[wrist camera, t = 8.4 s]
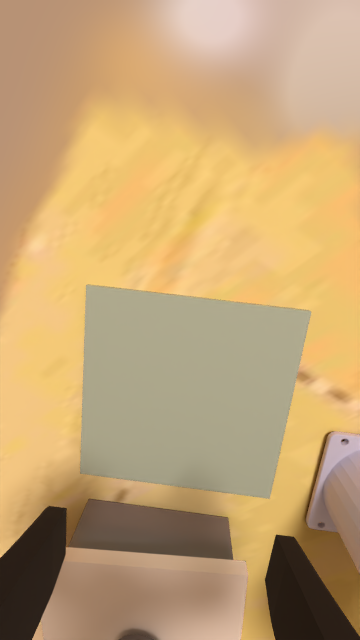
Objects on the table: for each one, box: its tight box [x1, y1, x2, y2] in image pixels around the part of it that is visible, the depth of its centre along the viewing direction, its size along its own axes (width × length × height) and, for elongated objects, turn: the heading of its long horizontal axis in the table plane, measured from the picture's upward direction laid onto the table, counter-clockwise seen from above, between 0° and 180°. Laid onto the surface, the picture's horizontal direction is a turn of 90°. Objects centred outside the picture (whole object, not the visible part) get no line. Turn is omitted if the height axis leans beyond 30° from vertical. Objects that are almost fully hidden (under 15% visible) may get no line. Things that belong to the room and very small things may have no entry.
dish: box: [68, 499, 233, 560], centre depth 21 cm, size 11×11×5 cm
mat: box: [80, 285, 311, 499], centre depth 20 cm, size 14×14×1 cm
